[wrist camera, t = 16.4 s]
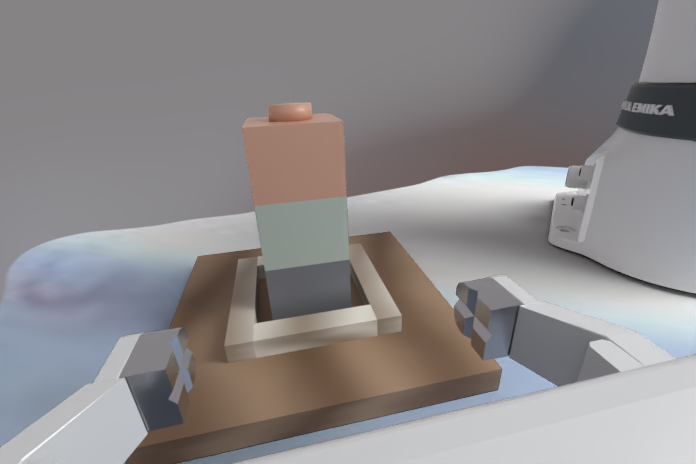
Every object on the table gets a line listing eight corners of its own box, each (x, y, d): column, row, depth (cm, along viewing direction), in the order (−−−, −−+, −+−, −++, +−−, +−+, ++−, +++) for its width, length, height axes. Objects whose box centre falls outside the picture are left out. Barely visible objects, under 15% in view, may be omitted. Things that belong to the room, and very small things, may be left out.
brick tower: (337, 274, 27) (327, 99, 21) (351, 313, 22) (342, 104, 17) (272, 284, 26) (245, 104, 21) (273, 326, 21) (238, 110, 16)
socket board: (389, 245, 34) (390, 220, 33) (498, 389, 18) (505, 350, 17) (201, 270, 31) (194, 244, 30) (130, 473, 15) (110, 432, 14)
